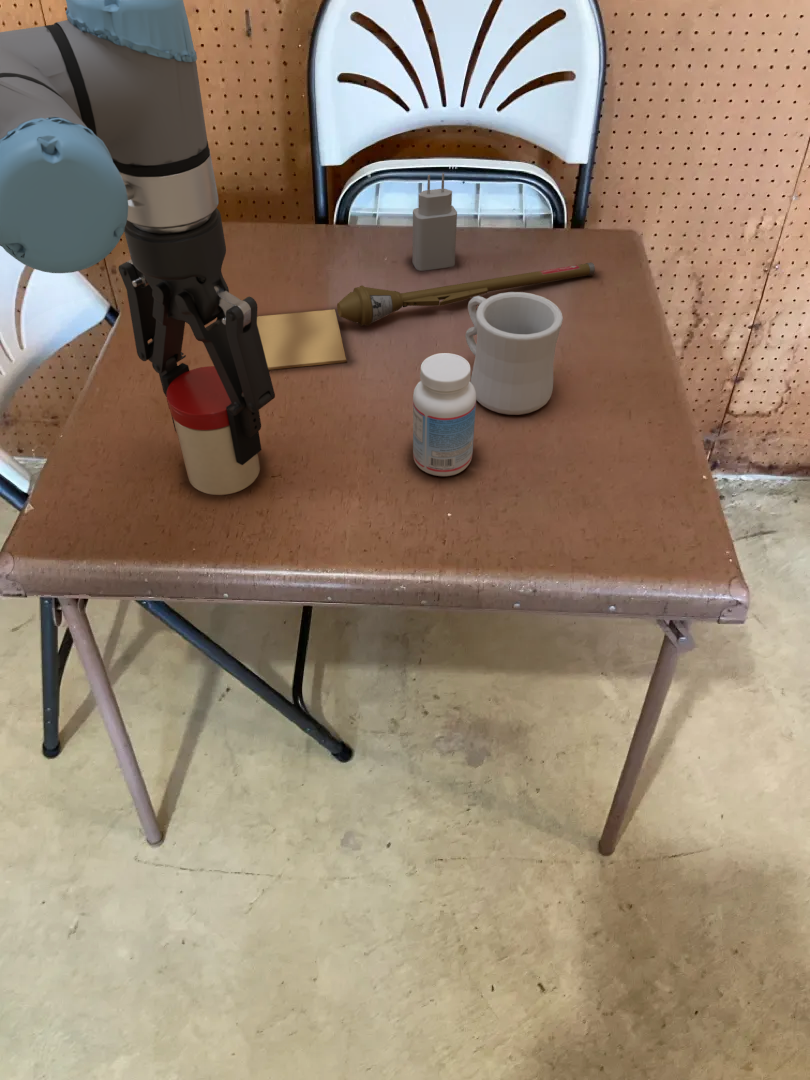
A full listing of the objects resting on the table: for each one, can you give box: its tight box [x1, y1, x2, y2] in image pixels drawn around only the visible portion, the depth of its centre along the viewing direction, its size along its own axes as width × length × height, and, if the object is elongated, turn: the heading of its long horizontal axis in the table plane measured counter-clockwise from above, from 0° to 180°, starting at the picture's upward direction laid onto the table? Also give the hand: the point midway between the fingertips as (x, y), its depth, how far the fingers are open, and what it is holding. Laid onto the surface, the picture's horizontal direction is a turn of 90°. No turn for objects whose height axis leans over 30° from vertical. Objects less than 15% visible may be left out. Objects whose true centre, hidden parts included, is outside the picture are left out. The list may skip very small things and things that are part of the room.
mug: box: [464, 291, 564, 416], centre depth 91 cm, size 12×9×10 cm
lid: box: [166, 365, 243, 430], centre depth 78 cm, size 8×7×2 cm
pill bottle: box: [412, 352, 477, 477], centre depth 82 cm, size 6×6×11 cm
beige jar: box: [172, 419, 261, 496], centre depth 81 cm, size 7×7×10 cm
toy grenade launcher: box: [336, 261, 596, 327], centre depth 106 cm, size 5×35×5 cm
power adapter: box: [411, 172, 458, 272], centre depth 109 cm, size 3×5×12 cm, turn 105°
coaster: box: [257, 308, 347, 371], centre depth 100 cm, size 11×11×1 cm
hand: (217, 440), depth 82 cm, fingers closed on lid, 7 cm apart
